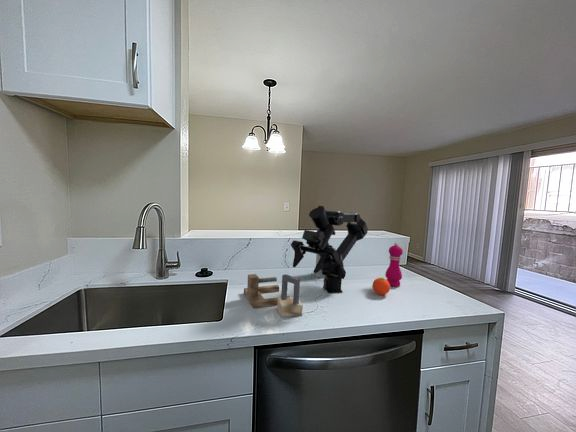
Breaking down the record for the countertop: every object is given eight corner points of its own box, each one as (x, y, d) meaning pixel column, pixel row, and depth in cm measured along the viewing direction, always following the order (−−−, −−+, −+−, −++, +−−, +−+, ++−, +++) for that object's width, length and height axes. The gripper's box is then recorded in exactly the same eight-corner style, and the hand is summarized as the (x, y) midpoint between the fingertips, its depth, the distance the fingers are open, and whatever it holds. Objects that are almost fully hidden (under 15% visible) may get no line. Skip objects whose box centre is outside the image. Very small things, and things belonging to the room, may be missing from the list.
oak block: (296, 306, 91) (297, 296, 91) (302, 315, 84) (302, 305, 84) (277, 307, 89) (277, 297, 89) (281, 316, 83) (281, 306, 82)
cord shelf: (277, 289, 106) (278, 268, 105) (290, 303, 93) (292, 279, 93) (243, 293, 101) (244, 270, 100) (253, 308, 88) (254, 282, 87)
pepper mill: (384, 285, 118) (387, 242, 116) (384, 281, 125) (388, 240, 123) (401, 288, 115) (405, 244, 114) (400, 283, 122) (404, 242, 120)
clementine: (372, 289, 112) (373, 273, 112) (389, 292, 110) (390, 275, 109) (371, 295, 105) (372, 278, 104) (389, 298, 102) (391, 281, 102)
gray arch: (284, 297, 89) (285, 274, 89) (298, 303, 85) (300, 278, 84) (281, 299, 88) (282, 275, 87) (295, 304, 84) (297, 279, 83)
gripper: (294, 219, 100) (274, 251, 92) (337, 225, 88) (317, 262, 80) (305, 237, 106) (287, 268, 99) (346, 245, 94) (329, 281, 87)
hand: (303, 269), depth 91 cm, fingers open, 9 cm apart
